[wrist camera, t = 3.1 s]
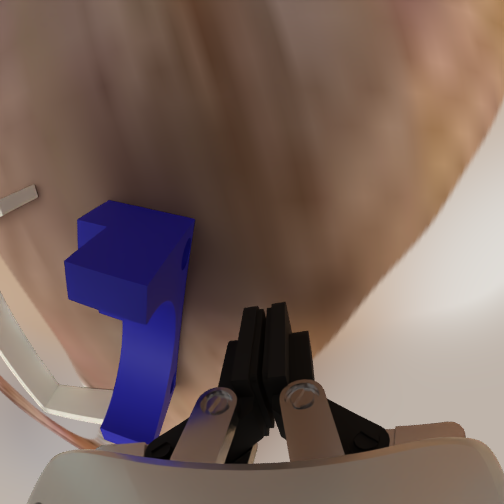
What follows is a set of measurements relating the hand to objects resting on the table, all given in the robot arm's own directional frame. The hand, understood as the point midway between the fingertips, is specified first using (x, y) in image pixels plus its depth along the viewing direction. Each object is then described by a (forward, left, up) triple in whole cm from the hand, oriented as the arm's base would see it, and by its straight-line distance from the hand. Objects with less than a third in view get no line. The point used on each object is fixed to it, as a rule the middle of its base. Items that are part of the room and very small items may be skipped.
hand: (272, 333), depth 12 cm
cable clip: (0, -7, -3) cm, 8 cm away
